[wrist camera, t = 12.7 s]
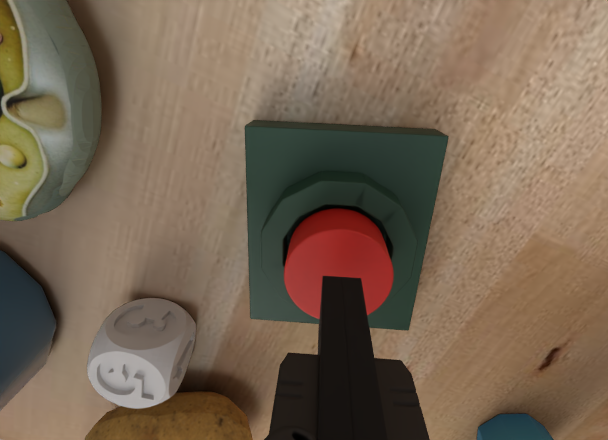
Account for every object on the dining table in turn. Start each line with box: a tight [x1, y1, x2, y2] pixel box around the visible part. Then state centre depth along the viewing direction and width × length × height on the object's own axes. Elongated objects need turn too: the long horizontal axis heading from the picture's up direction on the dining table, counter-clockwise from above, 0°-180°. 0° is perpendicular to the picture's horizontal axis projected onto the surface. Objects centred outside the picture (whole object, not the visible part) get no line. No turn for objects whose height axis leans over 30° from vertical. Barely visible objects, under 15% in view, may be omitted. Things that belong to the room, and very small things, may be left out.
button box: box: [245, 120, 448, 330], centre depth 19 cm, size 12×10×4 cm
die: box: [87, 298, 196, 409], centre depth 23 cm, size 5×5×5 cm
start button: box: [284, 208, 394, 319], centre depth 17 cm, size 5×5×3 cm
